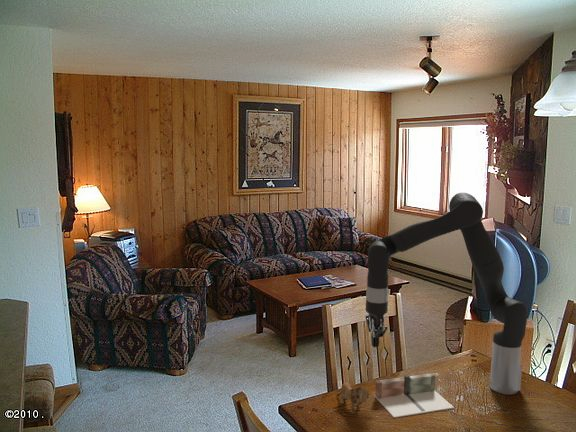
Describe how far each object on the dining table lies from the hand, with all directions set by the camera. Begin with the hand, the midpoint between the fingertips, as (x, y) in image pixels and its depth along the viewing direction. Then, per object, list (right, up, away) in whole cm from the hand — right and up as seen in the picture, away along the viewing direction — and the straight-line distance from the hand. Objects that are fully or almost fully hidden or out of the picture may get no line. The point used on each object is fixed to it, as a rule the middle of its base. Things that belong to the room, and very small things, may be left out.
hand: (375, 346), depth 174 cm
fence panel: (+4, -16, -4) cm, 17 cm away
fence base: (+15, -16, 0) cm, 22 cm away
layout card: (+12, -17, -7) cm, 22 cm away
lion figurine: (-9, -18, -9) cm, 22 cm away
